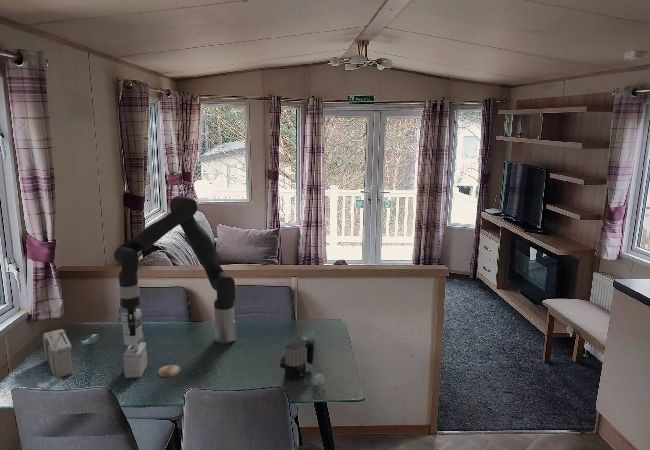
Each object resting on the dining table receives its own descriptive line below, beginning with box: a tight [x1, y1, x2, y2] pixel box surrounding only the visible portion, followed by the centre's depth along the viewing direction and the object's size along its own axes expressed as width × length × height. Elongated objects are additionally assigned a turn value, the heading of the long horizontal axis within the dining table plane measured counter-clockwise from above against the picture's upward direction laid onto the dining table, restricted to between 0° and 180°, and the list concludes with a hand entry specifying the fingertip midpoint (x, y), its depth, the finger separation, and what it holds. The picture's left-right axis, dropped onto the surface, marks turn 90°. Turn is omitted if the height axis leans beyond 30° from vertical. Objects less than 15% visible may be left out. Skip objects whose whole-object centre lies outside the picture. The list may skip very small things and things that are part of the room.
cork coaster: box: [157, 364, 181, 378], centre depth 206 cm, size 9×9×1 cm
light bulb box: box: [122, 341, 148, 379], centre depth 205 cm, size 11×7×11 cm, turn 5°
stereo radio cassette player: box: [42, 328, 74, 379], centre depth 206 cm, size 21×8×20 cm, turn 37°
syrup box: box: [120, 307, 145, 346], centre depth 201 cm, size 6×6×14 cm
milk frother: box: [280, 337, 315, 381], centre depth 206 cm, size 14×16×15 cm
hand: (133, 331), depth 202 cm, fingers closed on syrup box, 7 cm apart
